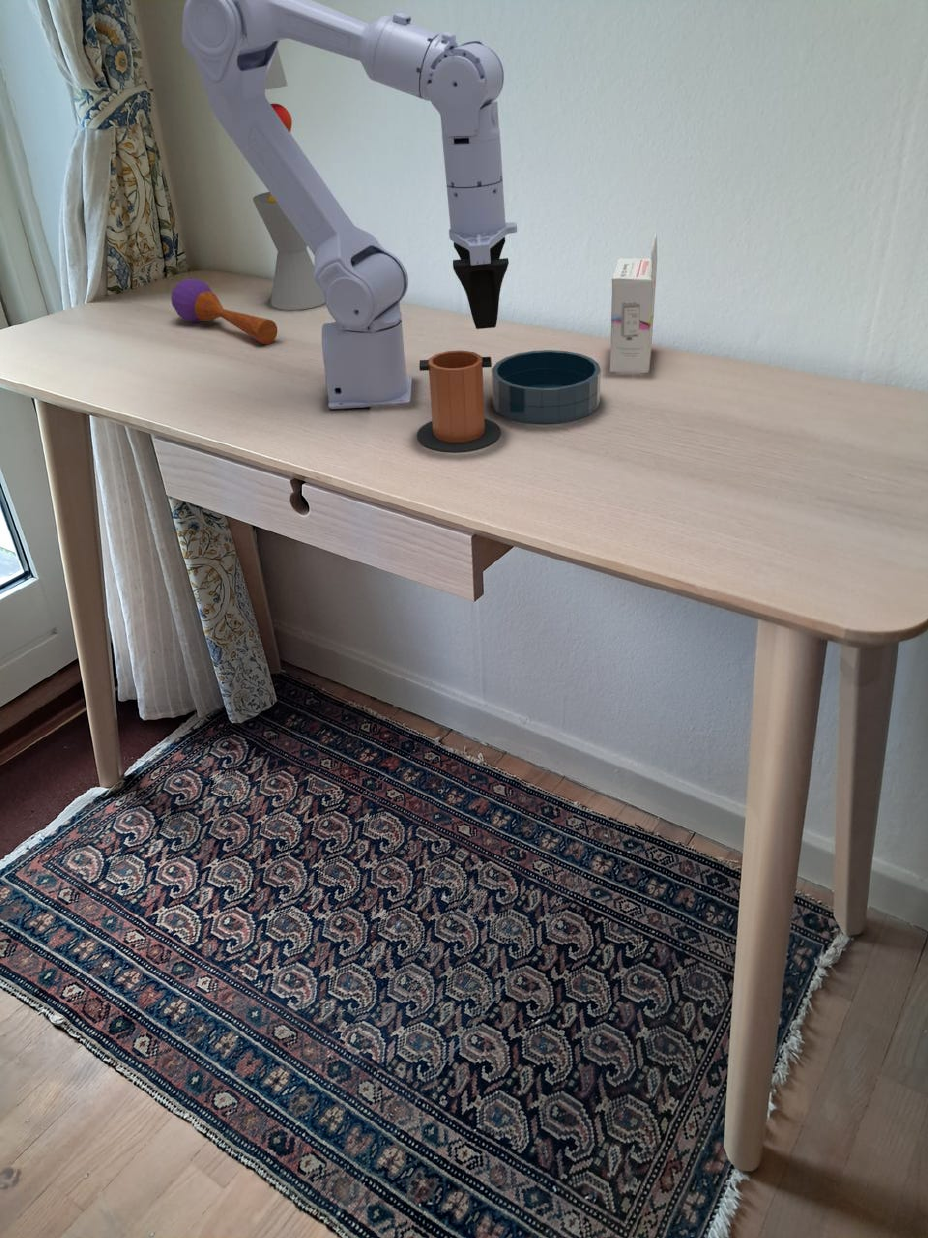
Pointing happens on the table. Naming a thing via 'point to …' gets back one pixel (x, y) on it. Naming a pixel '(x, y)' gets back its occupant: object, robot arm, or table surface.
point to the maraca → (217, 310)
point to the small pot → (457, 394)
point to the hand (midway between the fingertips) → (485, 316)
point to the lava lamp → (287, 232)
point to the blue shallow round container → (546, 387)
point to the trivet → (431, 442)
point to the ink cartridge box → (633, 312)
